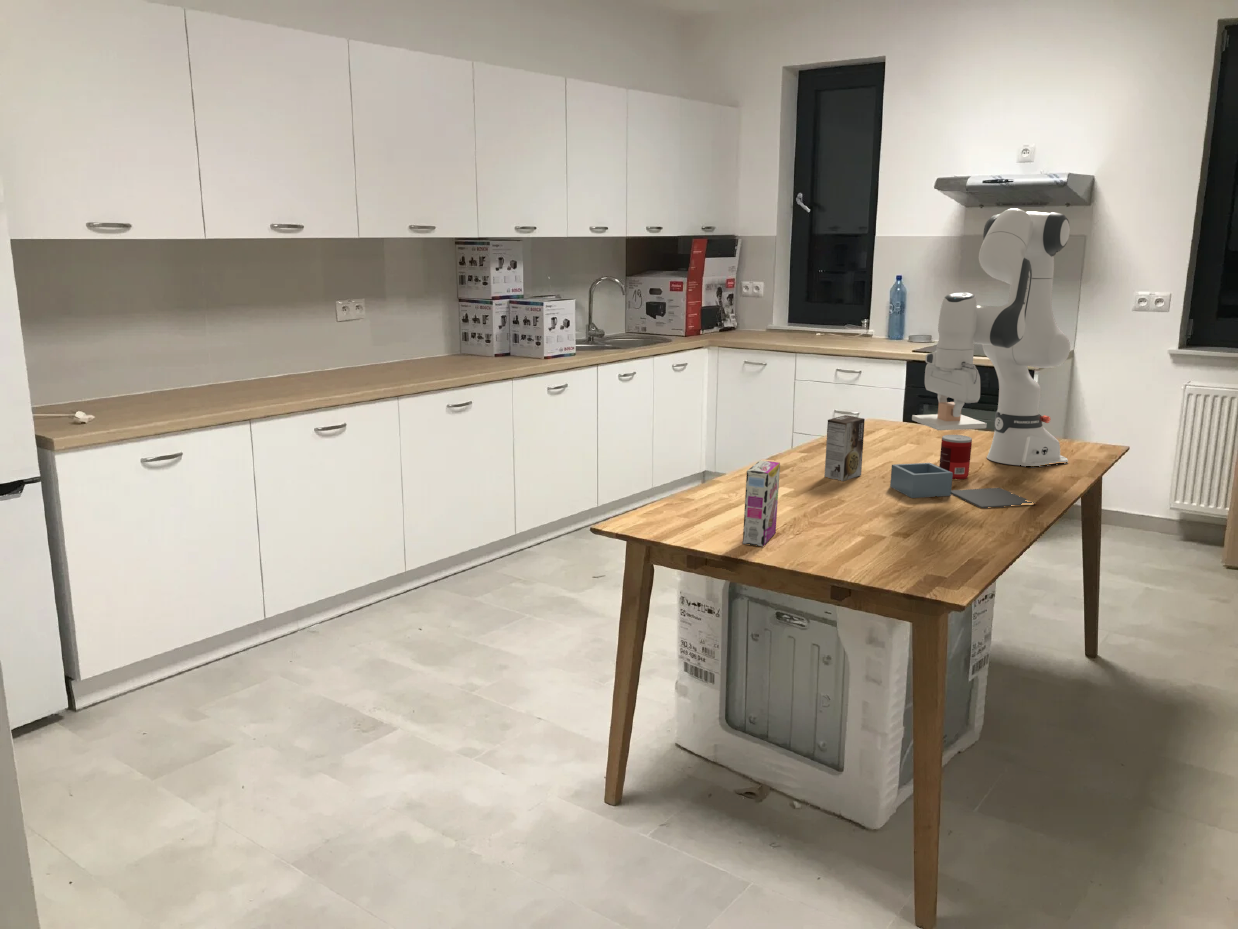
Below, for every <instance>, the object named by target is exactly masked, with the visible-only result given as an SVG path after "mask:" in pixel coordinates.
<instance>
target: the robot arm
mask: <svg viewBox="0 0 1238 929" xmlns="http://www.w3.org/2000/svg"><path fill="white" fill-rule="evenodd" d="M1070 233H1071V228H1070V221H1069V219H1068V218H1067V216H1066V215H1065V214H1063V213H1060V212H1053V211H1052V212H1041V211H1025V210H1024V209H1020V208H1008V209H1006V210H1004V211H1002V212H1001V213H999V214H998V213H997V214H994V215H992V216H991V217H989V219H987V221H986V222H985V225H984V229H983V234H982V235H983V238H982V239H983V241H982V244H981V246H980V249H979V250H978V251H979V253H978V262H979V265H980V268H981V269H982V270H983V271H984V272H985V273H986V275H987V276H990V277H991V278H993V279H995V280H998V281H1000V282H1003V283H1006V284H1007V285H1009V292H1008V300H1007V303H1006V304H1004V305H1000V306H999V305H998V306H996V305H980V304H977V298H976V297H977V296H976V295H975V294H973V293H970V292H963V291H962V292H961V291H960V292H952V293H949V294H947V295H945V296H944V297H943V299H942V302H941V306H940V311H939V315H938V325H937V326H938V327H937V331H938V340H937V343H936V348H935V349H936V350H935V351H933V352H929V353H926V354H925V359H924V360H925V363H926V365H925V368H924V369H925V370H924V372H925V373H924V386H925V389H926V391H929V392H932V393H935V394H937V400H938V404H939V403H940V402H948V398H951V399H953V402H954V403H955V405H954V408H953V409H951V416H954V417H959V416H960V413H961V414H962V409H963V406H965V403H966V404H971V403H978V402H979V400H980V399H981V376H980V373H979V370H978V369H977V366H976V365H975V364H974V356H975V355H974V354H975V345H981V346H982V350H983V354H984V355H985V356H986V357H987V358H988V359H989V361H990V362H991V364H992V365H993V367H994V369H995V372H996V376H997V379H998V389H999V390H998V402H997V404H998V405H997V410H995V417H994V433H993V438H992V440H991V445H990V449H989V451H988V454H987V456H986V458H987V459H988V460H989V461H992V462H995V463H998V464H999V463H1000V464H1004V465H1013V466H1020V465H1021V467H1026V466H1039V467H1041V466H1040V465H1045V464H1049V463H1056V462H1068V463H1069V460H1068V458H1067V457H1065V456H1063V455H1061V444H1060V441H1059V440H1058V439H1057V438H1056V437H1055V436H1054V435H1053V434H1051V433H1050V432H1049V431H1048V430H1047V429H1046V428H1045V427H1044V426H1043V423H1044V424H1045V423H1046V424H1049V423H1050V422H1051V417H1050V416H1048V415H1045V414H1044V415H1042V414H1040V412H1039V410H1040V403H1041V395H1042V394H1041V393H1042V389H1041V386H1040V384H1039V382H1037V381H1036V380H1034V378H1033V377H1032V375H1031V374H1030V371H1029V368H1028V367H1031V368H1032V367H1033V368H1037V369H1038V368H1040V369H1048V368H1058V367H1060V366H1062V365H1063V364H1064V363H1065V362H1066V361H1067V360H1068V358H1069V356H1070V353H1071V343H1070V340H1069V337H1068V336H1067V335H1066V334H1065V333H1064V332H1063V331H1062V330H1061V329H1060V326H1058V323H1057V322H1056V319H1055V317H1054V311H1053V307H1052V300H1053V299H1052V297H1053V285H1054V284H1053V283H1054V274H1055V270H1054V269H1055V259H1054V257H1055V255H1056V254H1057V253H1058V252H1061V251H1062V250H1063V249H1064V248H1065V247H1066V246H1067V244H1068V240H1069V237H1070Z"/></svg>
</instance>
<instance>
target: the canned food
mask: <svg viewBox="0 0 1238 929" xmlns="http://www.w3.org/2000/svg"><path fill="white" fill-rule="evenodd" d="M940 443H941V444H940V453H939V456H940V457H939V466H938V467H941V468H943V469H945V470H948V471H950V472H952V473H953V477H952V479H963V480H966V479H968V477H969V473H970V464H971V455H972V454H971V453H972V444H973V438H972V437H970V436H968V435H962V434H946V435H945V434H944V435H942V437H941V442H940Z"/></svg>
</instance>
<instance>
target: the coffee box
mask: <svg viewBox="0 0 1238 929" xmlns="http://www.w3.org/2000/svg"><path fill="white" fill-rule="evenodd" d="M865 419H866V418H863V417H862V418H861V417H858V416H854V415H841V416H838V417H834V418H829V419H827V427H826V428H827V429H826V445H825V462H824V464H825V465H824V476H825V477H824V478H826V477H828V478H827V479H832V480H835V479H838V480H837V481H840V480H841V482H845V481H848V480H851V479H854V478H857V477H860V476H862V468H863V467H862V466H863V452H864V436H865V435H864V434H865Z"/></svg>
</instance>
